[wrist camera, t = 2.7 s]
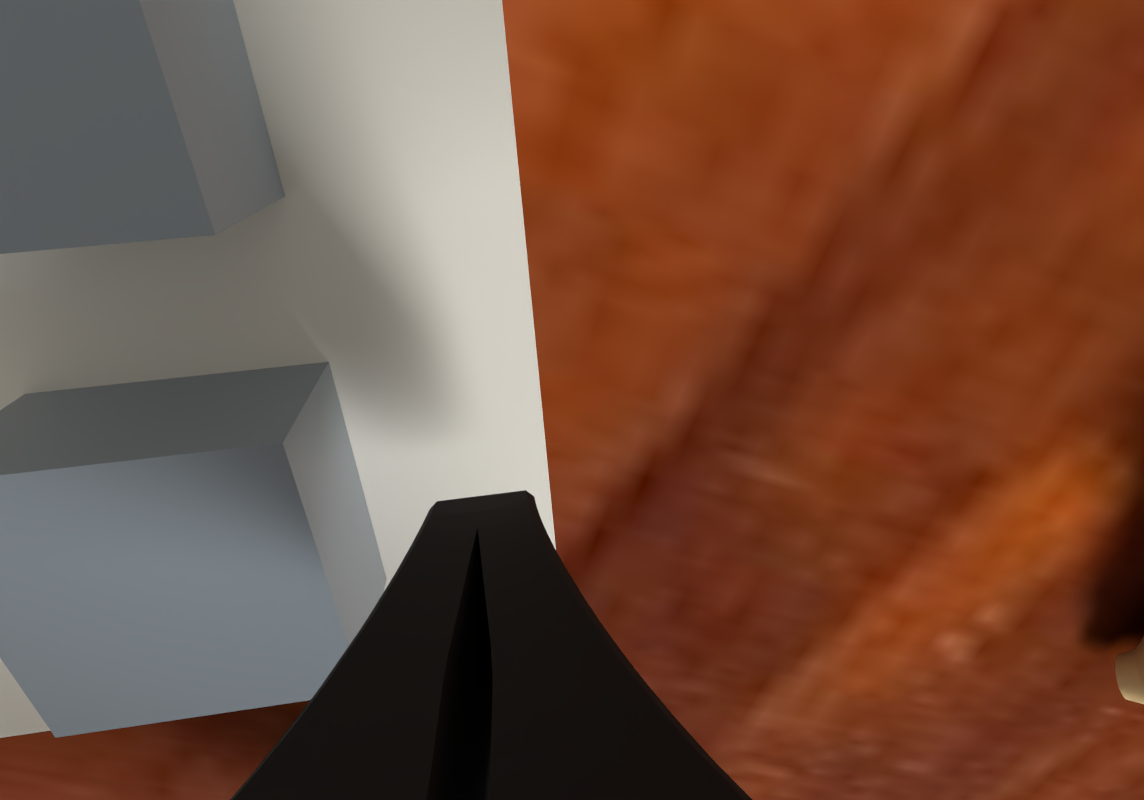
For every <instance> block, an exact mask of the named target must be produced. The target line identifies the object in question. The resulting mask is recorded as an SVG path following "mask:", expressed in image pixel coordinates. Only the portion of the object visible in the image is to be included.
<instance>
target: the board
mask: <svg viewBox="0 0 1144 800" xmlns="http://www.w3.org/2000/svg"><path fill="white" fill-rule="evenodd" d="M233 2H234V6H235V10H236V13H237V17H238V21H239V25H240V28H241V32H242V36H243V40H244V43H245V47H246V51H247V55H248V59H249V62H250V66H251V70H252V74H253V77H254V81H255V85H256V89H257V92H258V96H259V100H260V104H261V107H262V111H263V115H264V119H265V123H266V126H267V130H268V134H269V138H270V141H271V145H272V149H273V153H274V156H275V160H276V164H277V168H278V172H279V175H280V179H281V183H282V187H283V190H284V194H285V197H283V198H281V199H280V200H278V201H276V202H274V203H272V204H270V205H269V206H267V207H265V208H263V209H261V210H260V211H258V212H256V213H254V214H252V215H251V216H249V217H247V218H245V219H243V220H241V221H240V222H238V223H236V224H234V225H232V226H231V227H229V228H227V229H225V230H223V231H222V232H220V233H218V234H216V235H209V236H197V237H186V238H175V239H163V240H152V241H141V242H130V243H118V244H107V245H96V246H84V247H73V248H62V249H51V250H39V251H28V252H17V253H5V254H0V410H1V409H3V408H4V407H6V406H7V405H9V404H10V403H12V402H13V401H15V400H16V399H18V398H19V397H21V396H22V395H24V394H28V393H37V392H47V391H56V390H66V389H75V388H84V387H94V386H103V385H113V384H122V383H132V382H141V381H151V380H160V379H170V378H179V377H189V376H198V375H208V374H217V373H227V372H236V371H246V370H255V369H265V368H274V367H284V366H293V365H302V364H312V363H321V362H329V364H330V367H331V371H332V375H333V379H334V382H335V386H336V390H337V394H338V397H339V401H340V405H341V409H342V413H343V416H344V420H345V424H346V428H347V431H348V435H349V439H350V443H351V446H352V450H353V454H354V458H355V462H356V465H357V469H358V473H359V477H360V480H361V484H362V488H363V492H364V495H365V499H366V503H367V507H368V510H369V514H370V518H371V522H372V526H373V529H374V533H375V537H376V541H377V544H378V548H379V552H380V556H381V559H382V563H383V567H384V571H385V574H386V578H387V579H386V584H385V589H386V588H387V586H388V584H389V583H390V581H391V580H392V578H393V576H394V575H395V573H396V571H397V569H398V568H399V566H400V564H401V562H402V561H403V559H404V557H405V555H406V554H407V552H408V550H409V548H410V546H411V545H412V543H413V541H414V539H415V537H416V535H417V533H418V532H419V530H420V528H421V526H422V524H423V522H424V520H425V518H426V516H427V514H428V512H429V510H430V508H431V507H432V506H433V505H434V504H435V503H436V502H437V501H443V500H451V499H459V498H467V497H475V496H483V495H491V494H499V493H507V492H515V491H524V490H526V491H527V492H529V493H530V494H532V495H533V496H534V497H535V502H536V506H537V509H538V512H539V515H540V518H541V520H542V523H543V525H544V527H545V529H546V531H547V534H548V536H549V538H550V540H551V542H552V544H553V546H554V548H555V550H556V546H555V536H554V525H553V515H552V505H551V495H550V485H549V474H548V464H547V454H546V444H545V434H544V424H543V413H542V403H541V393H540V383H539V373H538V363H537V352H536V342H535V332H534V322H533V312H532V302H531V291H530V281H529V271H528V261H527V251H526V241H525V230H524V220H523V210H522V200H521V190H520V179H519V169H518V159H517V149H516V139H515V129H514V118H513V108H512V98H511V88H510V78H509V68H508V57H507V47H506V37H505V27H504V17H503V7H502V0H233ZM385 589H384V591H385ZM44 731H51V730H50V729H49V727H48V726H47V725H46V723H45V722H44V720H43V719H42V717H41V716H40V714H39V713H38V712H37V710H36V709H35V707H34V706H33V704H32V703H31V702H30V700H29V699H28V697H27V696H26V694H25V693H24V691H23V690H22V689H21V687H20V686H19V684H18V683H17V681H16V680H15V678H14V677H13V676H12V674H11V673H10V671H9V670H8V668H7V667H6V666H5V664H4V663H3V661H2V660H1V658H0V738H3V737H9V736H16V735H23V734H30V733H37V732H44Z"/></svg>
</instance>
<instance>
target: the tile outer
mask: <svg viewBox="0 0 1144 800" xmlns="http://www.w3.org/2000/svg"><path fill="white" fill-rule="evenodd" d="M283 197H285V194H284V190H283V187H282V183H281V179H280V175H279V172H278V168H277V164H276V160H275V156H274V153H273V149H272V145H271V141H270V138H269V134H268V130H267V126H266V123H265V119H264V115H263V111H262V107H261V104H260V100H259V96H258V92H257V89H256V85H255V81H254V77H253V74H252V70H251V66H250V62H249V59H248V55H247V51H246V47H245V43H244V40H243V36H242V32H241V28H240V25H239V21H238V17H237V13H236V10H235V6H234V2H233V0H0V254H5V253H17V252H28V251H39V250H51V249H62V248H73V247H84V246H96V245H107V244H118V243H130V242H141V241H152V240H163V239H175V238H186V237H197V236H209V235H216V234H218V233H220V232H222V231H223V230H225V229H227V228H229V227H231V226H232V225H234V224H236V223H238V222H240V221H241V220H243V219H245V218H247V217H249V216H251V215H252V214H254V213H256V212H258V211H260V210H261V209H263V208H265V207H267V206H269V205H270V204H272V203H274V202H276V201H278V200H280V199H281V198H283Z"/></svg>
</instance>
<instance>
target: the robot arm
mask: <svg viewBox="0 0 1144 800" xmlns="http://www.w3.org/2000/svg"><path fill="white" fill-rule="evenodd" d="M230 800H752V799H751V798H750V797H749V796H748V795H747V794H746V793H745V792H744V791H743V790H742V789H741V788H740V787H739V786H738V785H737V784H736V783H735V782H734V781H733V780H732V779H731V778H730V777H729V776H728V775H727V774H726V773H725V772H724V771H723V770H722V769H721V768H720V767H719V766H718V765H717V764H716V763H715V762H714V760H713V759H712V758H711V757H710V756H709V755H708V754H707V753H706V752H705V751H704V749H703V748H702V747H701V746H700V745H699V744H698V743H697V742H696V741H695V739H694V738H693V737H692V736H691V735H690V734H689V733H688V732H687V731H686V729H685V728H684V727H683V726H682V725H681V724H680V723H679V722H678V720H677V719H676V718H675V717H674V716H673V715H672V714H671V712H670V711H669V710H668V709H667V708H666V706H665V705H664V704H663V703H662V702H661V700H660V699H659V698H658V697H657V696H656V694H655V693H654V692H653V691H652V690H651V689H650V687H649V686H648V685H647V684H646V682H645V681H644V680H643V679H642V677H641V676H640V675H639V674H638V672H637V671H636V670H635V669H634V667H633V666H632V665H631V663H630V662H629V661H628V659H627V658H626V657H625V655H624V654H623V653H622V652H621V650H620V649H619V647H618V646H617V645H616V643H615V642H614V641H613V639H612V638H611V636H610V635H609V634H608V632H607V631H606V629H605V628H604V627H603V625H602V624H601V622H600V621H599V620H598V618H597V617H596V615H595V614H594V612H593V611H592V609H591V608H590V606H589V605H588V603H587V602H586V600H585V599H584V597H583V595H582V594H581V592H580V590H579V589H578V587H577V586H576V584H575V582H574V581H573V579H572V577H571V576H570V574H569V573H568V571H567V569H566V568H565V566H564V564H563V562H562V561H561V559H560V557H559V555H558V553H557V552H556V550H555V548H554V546H553V544H552V542H551V540H550V538H549V536H548V534H547V531H546V529H545V527H544V525H543V523H542V520H541V518H540V515H539V512H538V509H537V506H536V502H535V497H534V496H533V495H532V494H530V493H529V492H527V491H526V490H524V491H515V492H507V493H499V494H491V495H483V496H475V497H467V498H459V499H451V500H443V501H437V502H436V503H435V504H434V505H433V506H432V507H431V508H430V510H429V512H428V514H427V516H426V518H425V520H424V522H423V524H422V526H421V528H420V530H419V532H418V533H417V535H416V537H415V539H414V541H413V543H412V545H411V546H410V548H409V550H408V552H407V554H406V555H405V557H404V559H403V561H402V562H401V564H400V566H399V568H398V569H397V571H396V573H395V575H394V576H393V578H392V580H391V581H390V583H389V584H388V586H387V588H386V589H385V591H384V592H383V594H382V596H381V597H380V599H379V601H378V602H377V604H376V605H375V607H374V609H373V610H372V612H371V614H370V615H369V617H368V618H367V620H366V621H365V623H364V625H363V626H362V628H361V629H360V631H359V632H358V634H357V635H356V636H355V638H354V639H353V641H352V642H351V644H350V645H349V646H348V648H347V649H346V651H345V652H344V654H343V655H342V657H341V658H340V659H339V661H338V662H337V664H336V665H335V667H334V668H333V670H332V671H331V672H330V674H329V675H328V677H327V678H326V680H325V681H324V682H323V684H322V685H321V687H320V688H319V689H318V691H317V692H316V694H315V695H314V696H313V698H312V699H311V700H310V702H309V703H308V704H307V706H306V707H305V708H304V709H303V711H302V712H301V713H300V715H299V716H298V717H297V719H296V720H295V721H294V723H293V724H292V725H291V726H290V728H289V729H288V730H287V732H286V733H285V734H284V735H283V737H282V738H281V739H280V740H279V742H278V743H277V744H276V745H275V747H274V748H273V749H272V750H271V752H270V753H269V754H268V755H267V756H266V758H265V759H264V760H263V761H262V763H261V764H260V765H259V766H258V768H257V769H256V770H255V771H254V772H253V774H252V775H251V776H250V777H249V778H248V780H247V781H246V782H245V783H244V784H243V786H242V787H241V788H240V789H239V790H238V791H237V792H236V794H235V795H234V796H233V797H232V798H231V799H230Z"/></svg>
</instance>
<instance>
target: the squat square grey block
mask: <svg viewBox="0 0 1144 800" xmlns="http://www.w3.org/2000/svg"><path fill="white" fill-rule="evenodd" d="M386 579H387V578H386V574H385V571H384V567H383V563H382V559H381V556H380V552H379V548H378V544H377V541H376V537H375V533H374V529H373V526H372V522H371V518H370V514H369V510H368V507H367V503H366V499H365V495H364V492H363V488H362V484H361V480H360V477H359V473H358V469H357V465H356V462H355V458H354V454H353V450H352V446H351V443H350V439H349V435H348V431H347V428H346V424H345V420H344V416H343V413H342V409H341V405H340V401H339V397H338V394H337V390H336V386H335V382H334V379H333V375H332V371H331V367H330V364H329V362H321V363H312V364H302V365H293V366H284V367H274V368H265V369H255V370H246V371H236V372H227V373H217V374H208V375H198V376H189V377H179V378H170V379H160V380H151V381H141V382H132V383H122V384H113V385H103V386H94V387H84V388H75V389H66V390H56V391H47V392H37V393H28V394H24V395H22V396H21V397H19V398H18V399H16V400H15V401H13V402H12V403H10V404H9V405H7V406H6V407H4V408H3V409H1V410H0V658H1V660H2V661H3V663H4V664H5V666H6V667H7V668H8V670H9V671H10V673H11V674H12V676H13V677H14V678H15V680H16V681H17V683H18V684H19V686H20V687H21V689H22V690H23V691H24V693H25V694H26V696H27V697H28V699H29V700H30V702H31V703H32V704H33V706H34V707H35V709H36V710H37V712H38V713H39V714H40V716H41V717H42V719H43V720H44V722H45V723H46V725H47V726H48V727H49V729H50V730H51V732H52V733H53V735H54V736H55V738H56V737H63V736H70V735H77V734H84V733H90V732H97V731H104V730H111V729H118V728H124V727H131V726H138V725H145V724H152V723H158V722H165V721H172V720H179V719H186V718H192V717H199V716H206V715H213V714H220V713H227V712H233V711H240V710H247V709H254V708H261V707H267V706H274V705H281V704H288V703H295V702H301V701H308V700H311V699H312V698H313V696H314V695H315V694H316V692H317V691H318V689H319V688H320V687H321V685H322V684H323V682H324V681H325V680H326V678H327V677H328V675H329V674H330V672H331V671H332V670H333V668H334V667H335V665H336V664H337V662H338V661H339V659H340V658H341V657H342V655H343V654H344V652H345V651H346V649H347V648H348V646H349V645H350V644H351V642H352V641H353V639H354V638H355V636H356V635H357V634H358V632H359V631H360V629H361V628H362V626H363V625H364V623H365V621H366V620H367V618H368V617H369V615H370V614H371V612H372V610H373V609H374V607H375V605H376V604H377V602H378V601H379V599H380V597H381V596H382V594H383V592H384V589H385V584H386Z"/></svg>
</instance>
